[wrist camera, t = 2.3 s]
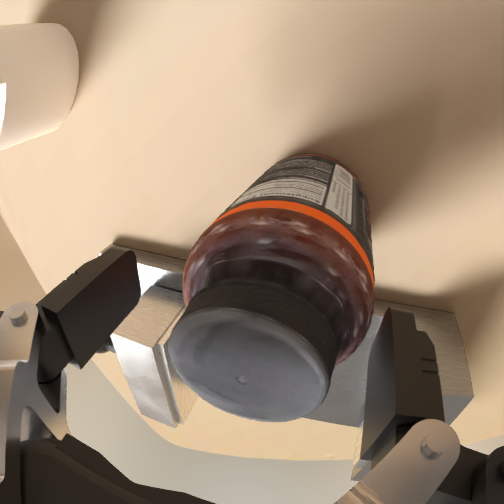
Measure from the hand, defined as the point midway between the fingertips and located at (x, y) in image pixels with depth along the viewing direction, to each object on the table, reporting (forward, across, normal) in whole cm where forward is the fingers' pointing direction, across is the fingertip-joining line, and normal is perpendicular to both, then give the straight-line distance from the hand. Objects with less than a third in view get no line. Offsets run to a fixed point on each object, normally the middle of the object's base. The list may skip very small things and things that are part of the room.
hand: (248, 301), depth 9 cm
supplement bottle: (+9, -1, 0) cm, 9 cm away
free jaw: (+7, +10, +11) cm, 16 cm away
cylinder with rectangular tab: (+9, +19, -8) cm, 23 cm away
